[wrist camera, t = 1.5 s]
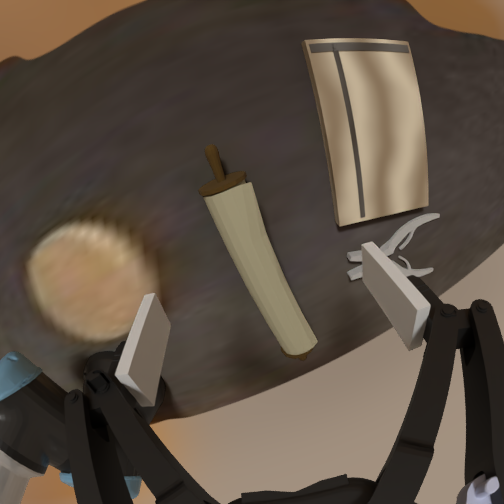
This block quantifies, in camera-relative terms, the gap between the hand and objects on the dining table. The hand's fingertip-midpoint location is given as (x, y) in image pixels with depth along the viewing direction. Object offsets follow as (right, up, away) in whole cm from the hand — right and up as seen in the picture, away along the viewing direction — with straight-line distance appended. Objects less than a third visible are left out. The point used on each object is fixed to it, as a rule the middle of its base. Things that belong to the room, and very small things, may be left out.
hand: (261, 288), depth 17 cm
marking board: (+13, +16, +10) cm, 23 cm away
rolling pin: (+1, 0, +18) cm, 18 cm away
